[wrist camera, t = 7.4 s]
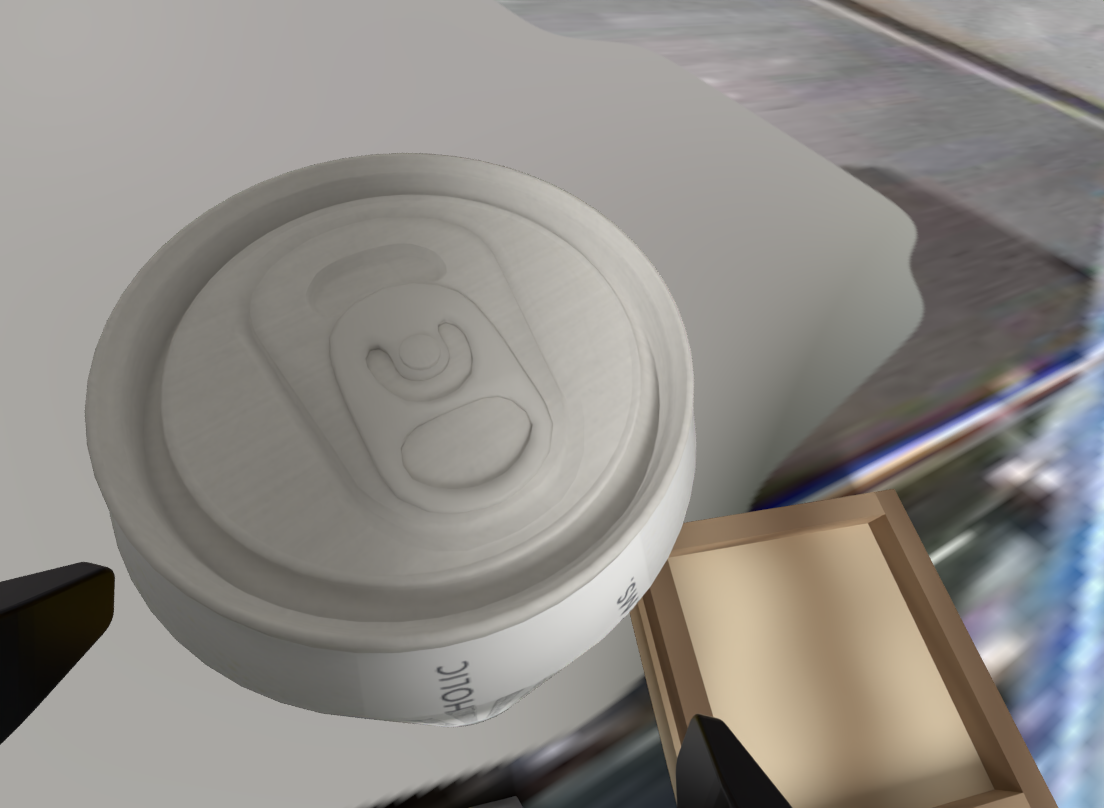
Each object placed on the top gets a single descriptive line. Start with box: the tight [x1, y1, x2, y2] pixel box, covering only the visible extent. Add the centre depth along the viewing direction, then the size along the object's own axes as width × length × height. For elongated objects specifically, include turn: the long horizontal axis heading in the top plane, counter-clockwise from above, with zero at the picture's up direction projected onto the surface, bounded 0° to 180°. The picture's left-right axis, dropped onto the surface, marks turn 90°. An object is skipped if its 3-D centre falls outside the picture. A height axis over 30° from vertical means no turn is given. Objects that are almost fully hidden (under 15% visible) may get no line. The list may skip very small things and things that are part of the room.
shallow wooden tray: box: [630, 489, 1058, 808], centre depth 17 cm, size 10×10×2 cm
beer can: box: [85, 153, 696, 727], centre depth 12 cm, size 6×6×15 cm
